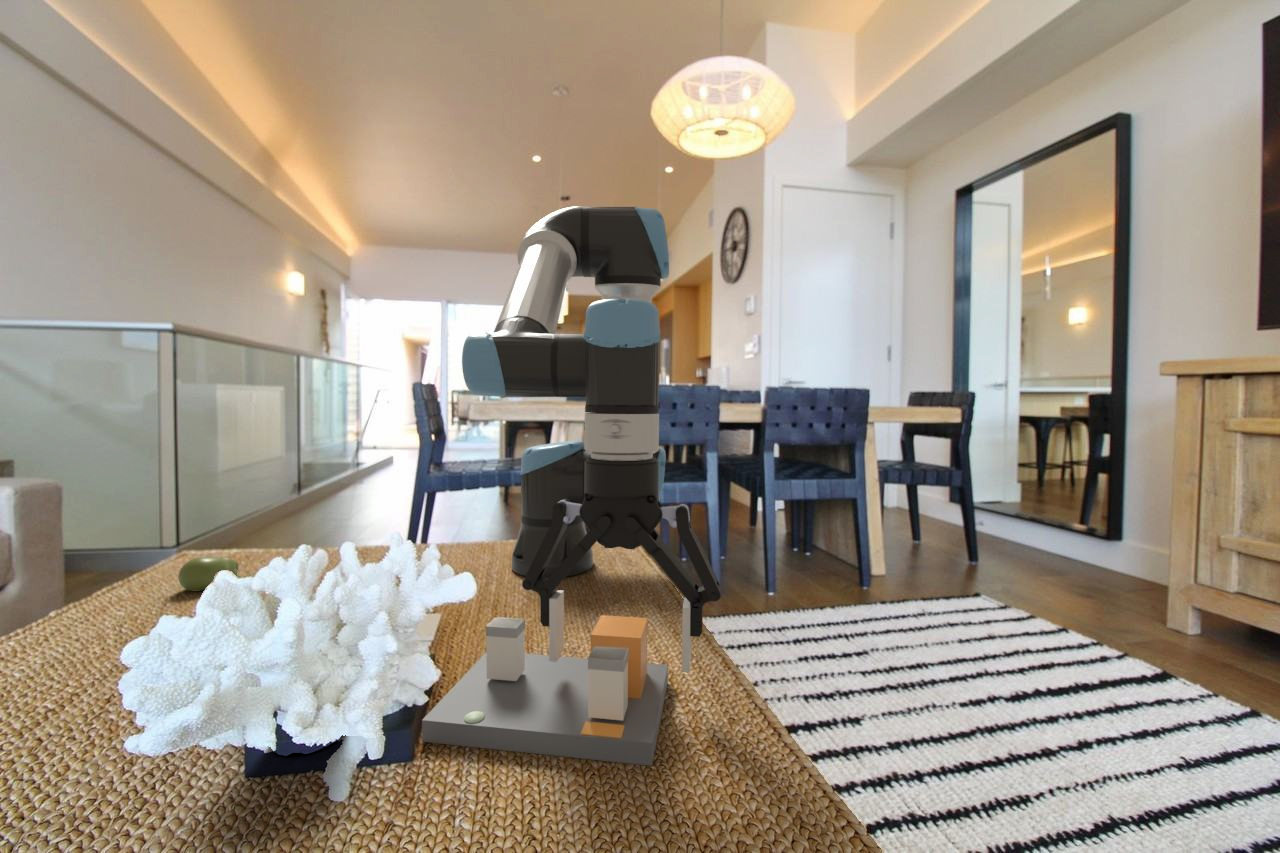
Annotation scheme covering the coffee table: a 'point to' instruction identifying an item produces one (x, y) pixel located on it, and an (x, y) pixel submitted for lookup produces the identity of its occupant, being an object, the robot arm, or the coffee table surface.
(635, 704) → the plate
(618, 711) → the block
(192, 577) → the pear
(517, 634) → the block
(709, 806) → the coffee table surface
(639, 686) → the block
